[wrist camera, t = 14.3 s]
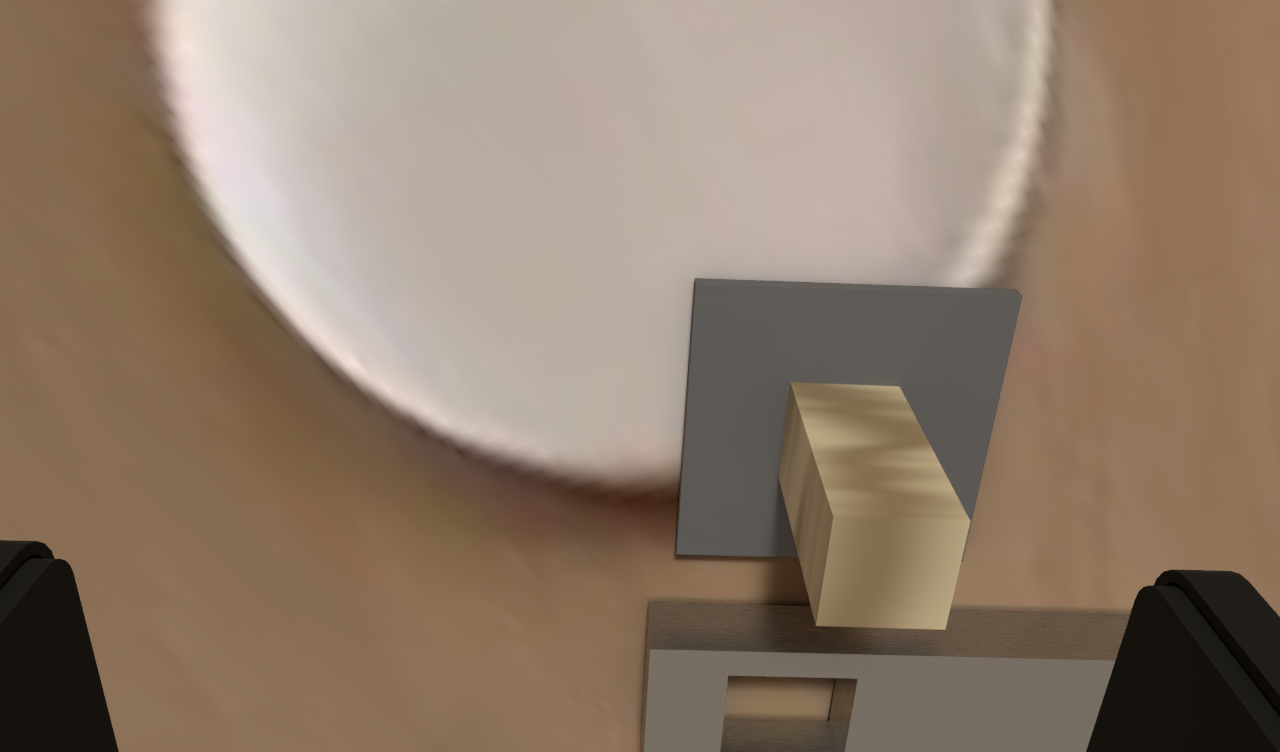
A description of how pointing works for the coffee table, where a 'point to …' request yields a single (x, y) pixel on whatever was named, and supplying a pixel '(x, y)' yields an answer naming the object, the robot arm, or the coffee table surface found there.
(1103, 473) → the coffee table surface
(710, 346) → the charcoal mat
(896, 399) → the birch peg
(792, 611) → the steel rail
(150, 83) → the coffee table surface
